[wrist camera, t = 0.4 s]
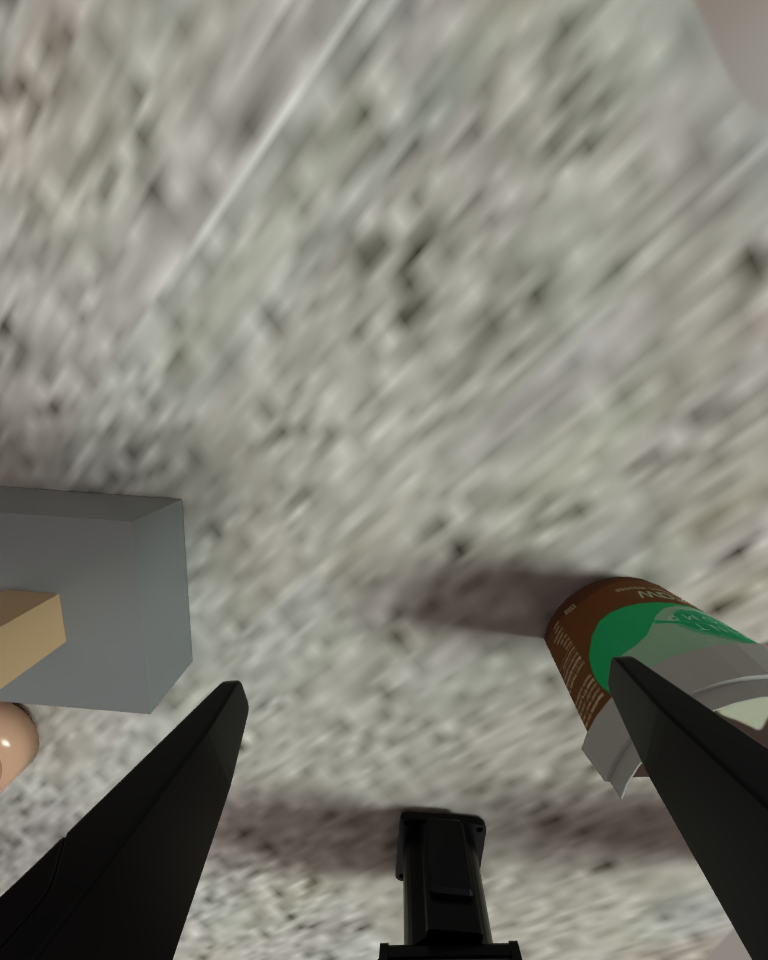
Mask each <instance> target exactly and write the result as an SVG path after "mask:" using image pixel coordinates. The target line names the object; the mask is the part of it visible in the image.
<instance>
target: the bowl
mask: <svg viewBox="0 0 768 960" xmlns="http://www.w3.org/2000/svg"><path fill="white" fill-rule="evenodd" d="M38 750H39V737H38V734H37V731H36V728H35V727H34V725H33V723H32V721H31V719H30V717H29V716H28V714H27V713H26V712H25V711H24V710H23V709H22V708H20V707H19V706H17V705H16V704H14V703H12V702H2V701H0V793H1V792H2V791H3V790H4V789H5V788H6V787H7V786H8V785H9V784H10V783H11V782H12V781H13V780H14V779H15V778H16V777H17V776H18V775H19V774H20V773H21V772H22V771H23V770H24V769H25V768H26V767H27V766H28V765H29V764H30V763H31V762H32V761H33V760H34V759H35V757H36V755H37V753H38Z"/></svg>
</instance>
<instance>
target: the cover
mask: <svg viewBox="0 0 768 960" xmlns="http://www.w3.org/2000/svg"><path fill="white" fill-rule="evenodd" d="M191 662H192V648H191V632H190V617H189V601H188V585H187V570H186V554H185V538H184V522H183V507H182V499H171V498H157V497H143V496H128V495H114V494H100V493H86V492H72V491H58V490H44V489H29V488H15V487H1V486H0V701H2V702H14V703H26V704H37V705H49V706H61V707H73V708H84V709H96V710H108V711H120V712H131V713H143V714H151V713H152V711H153V710H154V709H155V708H156V706H157V705H158V704H159V703H160V701H161V700H162V699H163V698H164V696H165V695H166V694H167V693H168V691H169V690H170V689H171V687H172V686H173V685H174V684H175V682H176V681H177V680H178V679H179V677H180V676H181V675H182V674H183V672H184V671H185V670H186V669H187V667H188V666H189V665H190V664H191Z"/></svg>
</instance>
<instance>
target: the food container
mask: <svg viewBox="0 0 768 960" xmlns="http://www.w3.org/2000/svg"><path fill="white" fill-rule="evenodd" d="M544 639H545V642H546V644H547V646H548V648H549V650H550V652H551V655H552V657H553V659H554V661H555V663H556V665H557V667H558V670H559V672H560V674H561V676H562V678H563V680H564V683H565V685H566V687H567V689H568V691H569V693H570V695H571V698H572V700H573V702H574V704H575V706H576V708H577V710H578V713H579V715H580V717H581V719H582V721H583V723H584V726H585V728H586V730H587V734H586V737H585V740H584V743H583V746H582V750H583V752H584V753H585V755H586V756H587V757H588V759H589V760H590V761H591V763H592V764H593V766H594V767H595V768H596V770H597V771H598V773H599V774H600V775H601V777H602V778H603V779H604V781H608V782H609V781H610V782H611V784H612V785H613V787H614V789H615V790H616V792H617V794H618V795H619V797H620V799H623V797H624V794H625V792H626V789H627V787H628V784H629V782H630V781H631V779H632V777H649V775H648V773H647V772H646V770H645V768H644V766H643V764H642V762H641V760H640V758H639V755H638V753H637V751H636V749H635V747H634V744H633V742H632V740H631V738H630V736H629V733H628V731H627V729H626V727H625V725H624V723H623V720H622V718H621V716H620V714H619V712H618V709H617V707H616V705H615V703H614V701H613V698H612V696H611V694H610V691H609V688H608V676H609V669H610V662H611V659H612V658H613V657H615V656H632V657H634V658H636V659H637V660H639V661H640V662H642V663H643V664H644V665H646V666H647V667H649V668H650V669H652V670H653V671H655V672H656V673H658V674H659V675H661V676H662V677H664V678H665V679H667V680H668V681H669V682H671V683H672V684H674V685H675V686H677V687H678V688H680V689H681V690H683V691H684V692H686V693H687V694H689V695H690V696H692V697H693V698H695V699H696V700H697V701H699V702H700V703H702V704H703V705H705V706H706V707H708V708H709V709H711V710H712V711H714V712H715V713H717V714H718V715H720V716H721V717H723V718H724V719H725V720H727V721H728V722H730V723H731V724H733V725H734V726H736V727H737V728H739V729H740V730H742V731H743V732H745V733H746V734H748V735H749V736H750V737H752V738H753V739H755V740H756V741H758V742H759V743H761V744H762V745H764V746H765V747H767V748H768V645H765V644H758V643H756V642H755V641H753V640H751V639H749V638H748V637H746V636H744V635H743V634H741V633H739V632H737V631H736V630H734V629H732V628H731V627H729V626H727V625H725V624H724V623H722V622H720V621H719V620H717V619H715V618H714V617H712V616H710V615H708V614H707V613H705V612H703V611H702V610H700V609H698V608H696V607H695V606H693V605H691V604H690V603H688V602H686V601H684V600H683V599H681V598H679V597H678V596H676V595H674V594H672V593H671V592H669V591H667V590H666V589H664V588H662V587H660V586H659V585H656V584H654V583H651V582H648V581H645V580H643V579H638V578H632V577H617V578H609V579H605V580H601V581H597V582H595V583H592V584H590V585H588V586H585V587H584V588H582V589H580V590H579V591H577V592H575V593H574V594H573V595H571V596H570V597H569V598H568V599H567V600H565V601H564V603H563V604H562V605H561V606H560V607H559V608H558V609H557V611H556V612H555V614H554V615H553V617H552V618H551V620H550V622H549V625H548V627H547V630H546V633H545V637H544Z"/></svg>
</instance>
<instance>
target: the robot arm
mask: <svg viewBox="0 0 768 960" xmlns="http://www.w3.org/2000/svg"><path fill="white" fill-rule="evenodd" d="M608 688H609V691H610V694H611V696H612V698H613V701H614V703H615V705H616V707H617V709H618V712H619V714H620V716H621V718H622V720H623V723H624V725H625V727H626V729H627V731H628V733H629V736H630V738H631V740H632V742H633V744H634V747H635V749H636V751H637V753H638V755H639V758H640V760H641V762H642V764H643V766H644V768H645V770H646V772H647V773H648V775H649V777H650V779H651V781H652V783H653V784H654V786H655V788H656V790H657V792H658V793H659V795H660V797H661V799H662V800H663V802H664V804H665V806H666V807H667V809H668V811H669V813H670V815H671V816H672V818H673V820H674V822H675V823H676V825H677V827H678V829H679V831H680V832H681V834H682V836H683V838H684V839H685V841H686V843H687V845H688V847H689V848H690V850H691V852H692V854H693V855H694V857H695V859H696V861H697V863H698V864H699V866H700V868H701V870H702V871H703V873H704V875H705V877H706V879H707V880H708V882H709V884H710V886H711V887H712V889H713V891H714V893H715V895H716V896H717V898H718V900H719V902H720V903H721V905H722V907H723V909H724V911H725V912H726V914H727V916H728V918H729V919H730V921H731V923H732V925H733V927H734V928H735V930H736V932H737V933H738V935H739V937H740V939H741V941H742V942H743V944H744V946H745V948H746V950H747V951H748V953H749V955H750V957H751V958H752V960H768V748H767V747H765V746H764V745H762V744H761V743H759V742H758V741H756V740H755V739H753V738H752V737H750V736H749V735H748V734H746V733H745V732H743V731H742V730H740V729H739V728H737V727H736V726H734V725H733V724H731V723H730V722H728V721H727V720H725V719H724V718H723V717H721V716H720V715H718V714H717V713H715V712H714V711H712V710H711V709H709V708H708V707H706V706H705V705H703V704H702V703H700V702H699V701H697V700H696V699H695V698H693V697H692V696H690V695H689V694H687V693H686V692H684V691H683V690H681V689H680V688H678V687H677V686H675V685H674V684H672V683H671V682H669V681H668V680H667V679H665V678H664V677H662V676H661V675H659V674H658V673H656V672H655V671H653V670H652V669H650V668H649V667H647V666H646V665H644V664H643V663H642V662H640V661H639V660H637V659H636V658H634V657H632V656H615V657H613V658H612V659H611V662H610V669H609V676H608ZM248 710H249V706H248V701H247V698H246V695H245V692H244V689H243V686H242V684H241V682H240V681H237V680H236V681H225V682H222V683H221V684H220V685H219V686H218V687H217V688H216V689H215V690H214V691H213V692H212V693H210V694H209V695H208V696H207V697H206V698H205V699H204V700H203V701H202V702H201V703H200V704H199V705H198V706H197V707H196V708H195V709H194V710H193V711H192V712H191V713H190V714H189V715H188V716H187V717H186V718H185V719H184V720H183V721H182V722H181V723H180V724H179V725H178V726H177V727H176V728H175V729H174V730H173V731H171V732H170V733H169V734H168V735H167V736H166V737H165V738H164V739H163V740H162V741H161V742H160V743H159V744H158V745H157V746H156V747H155V748H154V749H153V750H152V751H151V752H150V753H149V754H148V755H147V756H146V757H145V758H144V759H143V760H142V761H141V762H140V763H139V764H138V765H137V766H136V767H135V768H134V769H132V770H131V771H130V772H129V773H128V774H127V775H126V776H125V777H124V778H123V779H122V780H121V781H120V782H119V783H118V784H117V785H116V786H115V787H114V788H113V789H112V790H111V791H110V792H109V793H108V794H107V795H106V796H105V797H104V798H103V799H102V800H101V801H100V802H99V803H98V804H97V805H96V806H94V807H93V808H92V809H91V810H90V811H89V812H88V813H87V814H86V815H85V816H84V817H83V818H82V819H81V820H80V821H79V822H78V823H77V824H76V825H75V826H74V827H73V828H72V829H71V830H70V831H69V832H68V833H67V835H66V837H63V838H62V839H60V840H59V841H58V842H57V843H56V844H55V845H54V846H53V847H52V848H51V849H50V850H49V851H48V852H47V853H46V854H45V855H44V856H43V857H42V858H41V859H40V860H39V861H38V862H37V863H36V864H35V865H34V866H33V867H31V868H30V869H29V870H28V871H27V872H26V873H25V874H24V875H23V876H22V877H21V878H20V879H19V880H18V881H17V882H16V883H15V884H14V885H13V886H11V887H10V888H9V889H8V890H7V891H6V892H5V893H4V894H3V895H2V896H1V897H0V960H173V957H174V954H175V951H176V948H177V945H178V942H179V939H180V936H181V933H182V930H183V927H184V924H185V921H186V918H187V915H188V912H189V909H190V906H191V903H192V900H193V897H194V894H195V891H196V888H197V885H198V882H199V879H200V876H201V873H202V870H203V867H204V864H205V861H206V858H207V855H208V852H209V849H210V846H211V843H212V840H213V837H214V834H215V831H216V828H217V825H218V822H219V819H220V816H221V813H222V810H223V807H224V804H225V801H226V798H227V795H228V792H229V789H230V786H231V782H232V778H233V774H234V770H235V766H236V762H237V758H238V753H239V749H240V745H241V741H242V737H243V733H244V728H245V724H246V720H247V716H248ZM485 835H486V826H485V822H484V820H482V819H478V818H466V817H455V816H444V815H433V814H422V813H411V812H404V813H402V814H401V816H400V827H399V837H398V848H397V859H396V878H397V879H398V880H400V881H403V886H404V945H389V943H380V952H379V959H378V960H522V957H521V953H520V949H519V945H518V942H517V941H509V943H493V941H492V935H491V930H490V924H489V918H488V913H487V907H486V901H485V896H484V890H483V884H482V879H481V873H480V866H481V859H482V853H483V847H484V841H485Z"/></svg>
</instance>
